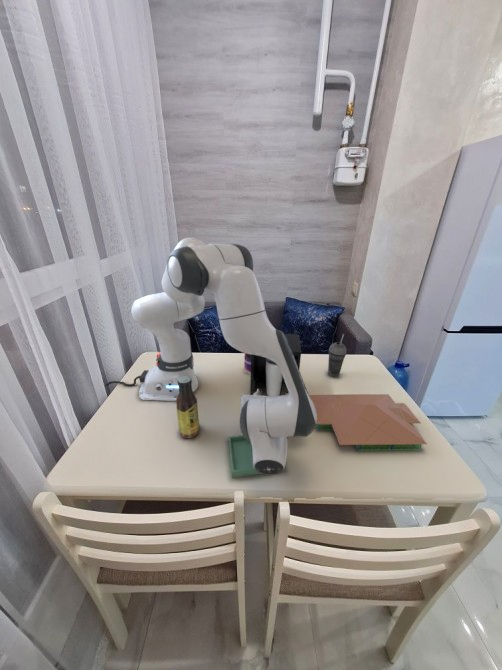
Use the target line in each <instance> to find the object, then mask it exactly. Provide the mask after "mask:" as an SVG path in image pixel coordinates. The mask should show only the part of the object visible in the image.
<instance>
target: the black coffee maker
mask: <svg viewBox="0 0 502 670" xmlns="http://www.w3.org/2000/svg"><path fill="white" fill-rule="evenodd" d="M284 335H285V336H286V338H287V340H288V342H289V345H290V347H291V350H292V352H293V355H294V357H295V360H296V363H297V365H298V368H299V369H300V367H301V358H302V348H301V340H300V339H301V338H300V334H293V333H292V334H291V333H284ZM266 359H267V358H265V357H261V356H257V355H252V354H251V374H250V382H249V383H250V386H249V387H250V389H249V391H250V393H249V395H253V394H254V393H255V389H256V383H257V381H266ZM283 382H284V383H285V381H284V378H282V383H283Z"/></svg>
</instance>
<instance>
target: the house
mask: <svg viewBox="0 0 502 670" xmlns="http://www.w3.org/2000/svg"><path fill="white" fill-rule="evenodd" d="M309 396H310V398H311V400H312V402H313V404H314V406H315V409H316V412H317V426H316V428H317V430H318V431H320V428H322V427H323V425H325V428H327V431H333V432H334V434H335V437H336V439H337V441H338V444H339V446H355V448H356V449H357V451H360V450H362V451H368V450H370V451H376V450H378V451H384V450H386V451H414V450H415V451H418V450H421V447H422V445H428V443H427V442H426V440H425V439H424V437H422V435H421V434H420V433H419V430H418V429H416V428H415V426H414V425H413V424H422V422H421V421H420V420H419V419H418V417H417V416H416V415H415V414H414V413H413V411H412V410H411V409H410V408H409V406H408V405H407V404H406V403H405V402H395V400H394V399H393V398H392V397H391V396H390V394H388V393H385V394H384V393H383V394H382V393H380V394H379V393H373V394H372V393H371V394H369V393H368V394H367V393H365V394H363V393H362V394H359V393H358V394H353V393H352V394H351V393H349V394H346V393H345V394H340V393H339V394H309ZM328 425H329V427H328ZM325 428H322V431H325ZM412 446H413V447H412ZM360 447H361V448H360ZM365 447H366V448H365ZM368 447H369V448H368ZM376 447H377V448H376ZM381 447H382V449H381ZM398 447H399V448H398ZM406 447H407V448H406ZM409 447H410V448H409ZM414 447H415V448H414ZM373 448H374V449H373ZM386 448H387V449H386ZM403 448H404V449H403Z"/></svg>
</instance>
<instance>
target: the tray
mask: <svg viewBox="0 0 502 670" xmlns="http://www.w3.org/2000/svg"><path fill="white" fill-rule="evenodd" d="M227 439H228V450H229V451H228V452H229V461H230V470H231V478H239V477H247V476H253V475H254V476H255V475H261V473H259V472H257V471H256V470H255V469H254V467H253V455H252V445H251V444H249V443H248V441H247V440H246V439H245V438H244V436H243V435H242V434H241V435H232V436H228V437H227ZM284 471H285V469H284V470H283V471H282V472H284Z"/></svg>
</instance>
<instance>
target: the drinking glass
mask: <svg viewBox="0 0 502 670" xmlns="http://www.w3.org/2000/svg"><path fill="white" fill-rule="evenodd" d="M282 378H283V375H282V373H281V370H280V368H279V366H278V365H277V364H276V363H275V362H273V361H272V360H270V359H268V358H267V359H266V380H265V381H266V382H265V383H266V384H265V385H266V392H265V393H266V396H272V397H273V396H281V389H282V383H283V382H282Z"/></svg>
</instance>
